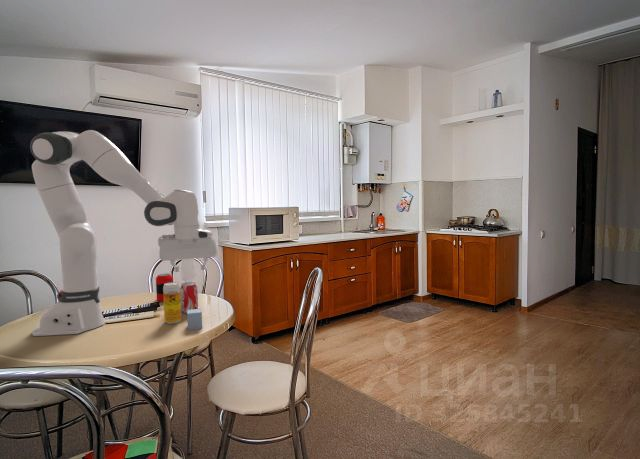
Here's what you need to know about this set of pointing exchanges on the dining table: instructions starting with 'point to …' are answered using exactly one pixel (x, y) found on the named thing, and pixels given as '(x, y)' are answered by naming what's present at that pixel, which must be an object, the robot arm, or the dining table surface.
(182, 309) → the soda can
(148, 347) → the dining table surface
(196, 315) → the slate block
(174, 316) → the beer can
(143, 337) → the dining table surface
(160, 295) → the soda can
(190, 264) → the champagne flute
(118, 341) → the dining table surface
